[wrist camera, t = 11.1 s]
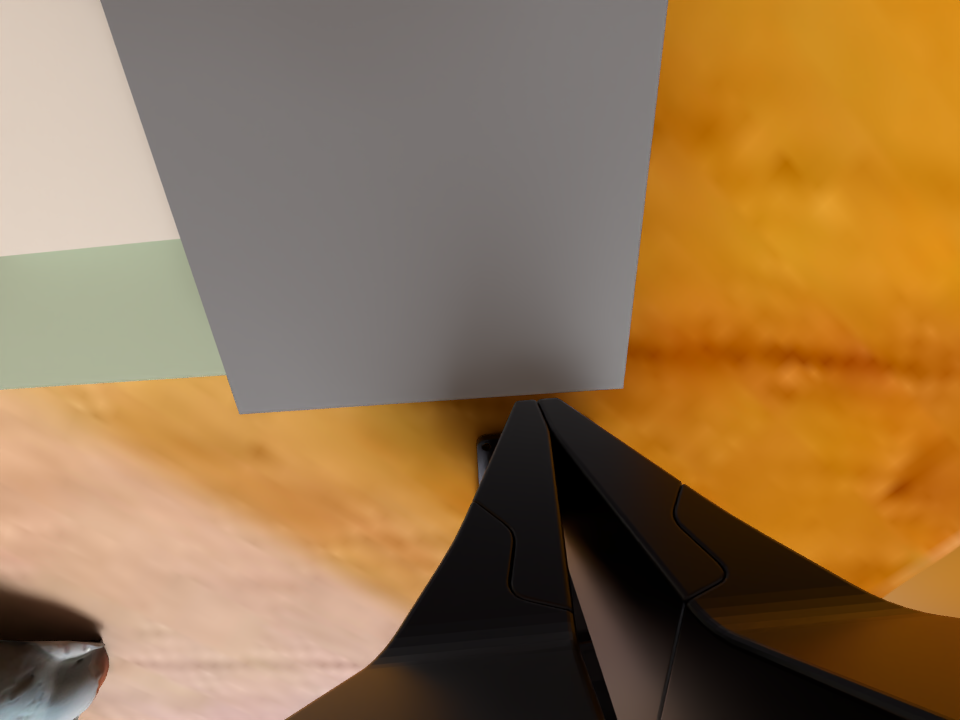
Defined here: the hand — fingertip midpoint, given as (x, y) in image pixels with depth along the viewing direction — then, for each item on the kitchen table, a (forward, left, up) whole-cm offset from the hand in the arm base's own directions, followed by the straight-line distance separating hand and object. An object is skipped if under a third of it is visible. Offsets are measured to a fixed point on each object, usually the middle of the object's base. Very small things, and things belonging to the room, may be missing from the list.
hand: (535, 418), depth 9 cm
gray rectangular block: (+6, +3, -13) cm, 15 cm away
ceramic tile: (+6, +16, -13) cm, 21 cm away
